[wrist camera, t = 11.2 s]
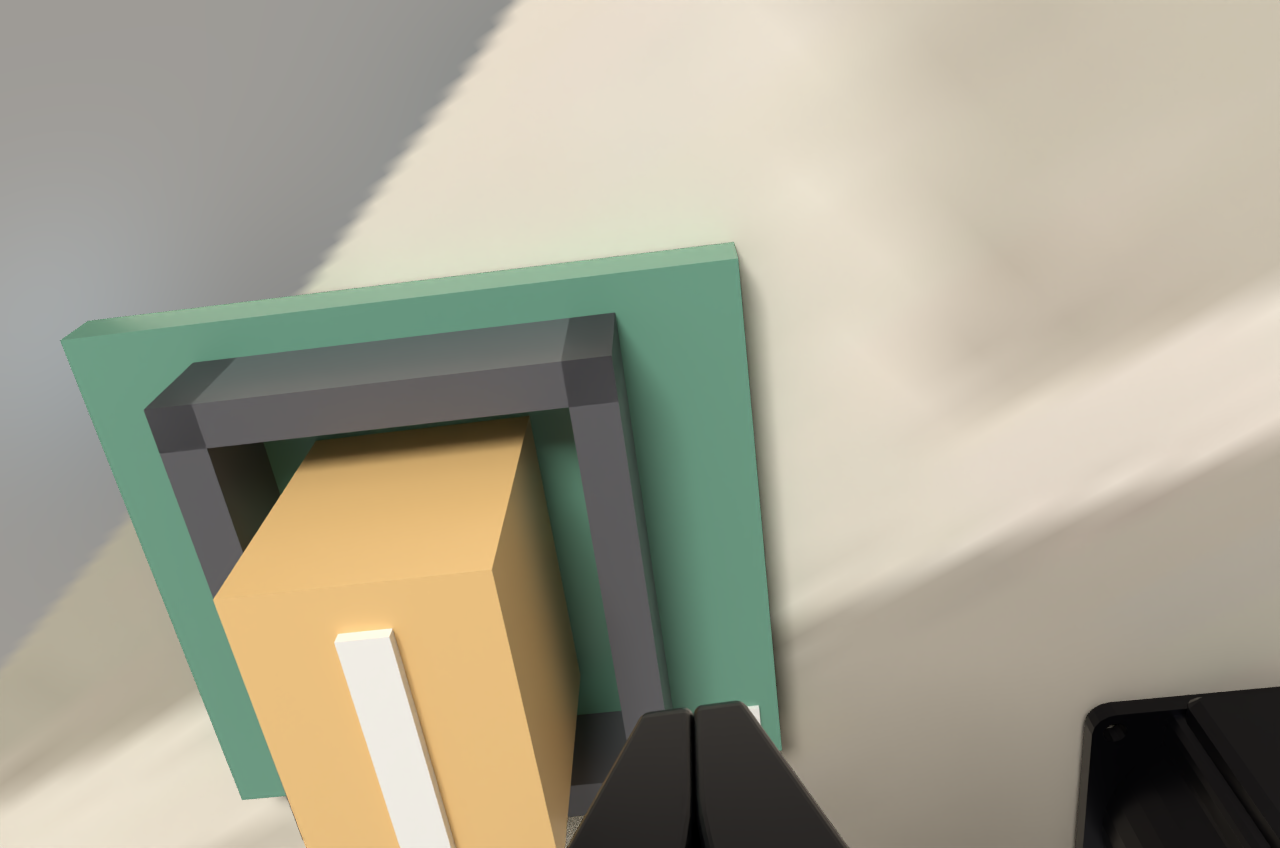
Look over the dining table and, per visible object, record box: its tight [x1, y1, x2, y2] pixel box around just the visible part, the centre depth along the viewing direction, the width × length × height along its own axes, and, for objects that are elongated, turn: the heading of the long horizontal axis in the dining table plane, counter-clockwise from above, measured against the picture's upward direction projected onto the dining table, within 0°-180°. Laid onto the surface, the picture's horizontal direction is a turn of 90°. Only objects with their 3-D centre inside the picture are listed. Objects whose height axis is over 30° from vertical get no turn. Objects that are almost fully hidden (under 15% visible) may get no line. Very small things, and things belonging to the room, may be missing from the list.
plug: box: [213, 416, 580, 848], centre depth 18 cm, size 6×4×5 cm, turn 8°
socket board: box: [61, 242, 782, 840], centre depth 20 cm, size 11×12×3 cm
